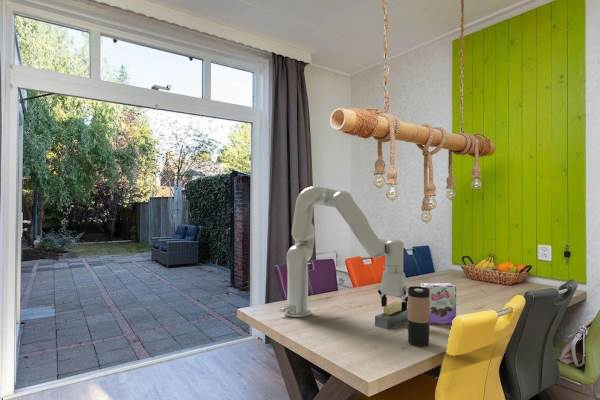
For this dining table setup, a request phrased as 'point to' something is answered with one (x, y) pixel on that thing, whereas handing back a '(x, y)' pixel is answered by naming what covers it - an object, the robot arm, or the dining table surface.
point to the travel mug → (418, 316)
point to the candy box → (441, 302)
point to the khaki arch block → (393, 308)
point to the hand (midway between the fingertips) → (393, 308)
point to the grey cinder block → (391, 319)
